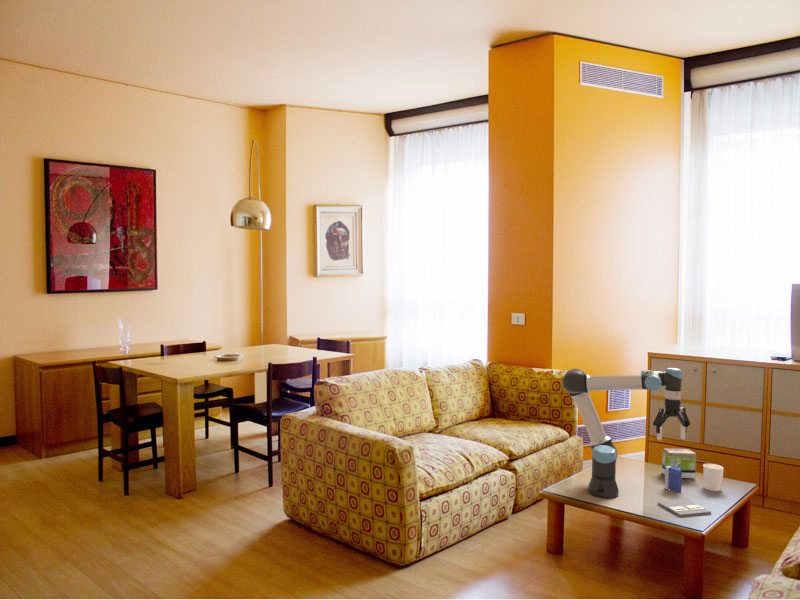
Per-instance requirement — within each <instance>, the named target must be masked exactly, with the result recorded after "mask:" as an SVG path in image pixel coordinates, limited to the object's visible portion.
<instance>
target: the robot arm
mask: <svg viewBox="0 0 800 600" xmlns="http://www.w3.org/2000/svg"><path fill="white" fill-rule="evenodd" d="M682 377H683V375H682V370H681V369H680V368H677V367H667V368H666V369H665V371H657V370H646V369H645V370H644V369H643V370H641V371H640V374H619V375H618V374H617V375H616V374H614V375H612V374H611V375H589V374H588V373H585V372H584V371H583V370H582V369H580V368H572V369H568V370H567V371H566V372H565V374H564V375H563V377H562V379H561V385H562V388H563V389H564V390H565V391H566V392H567V393H568V395H569V397H570V398H571V399H573V400H574V402H575V405H576V407H577V410H578V412H579V414H580V417H581V420H582V422H583V424H584V427H585V429H586V432H587V434H588V437H589V440H590V442H589V444H588V445H589V447H590V449H591V456H592V457H591V477H590V481H589V483H588V486H587V492H588V494H590V495H591V496H594V497H599V498H602V497H603V498H602V499H614V498H617V497H619V493H620V492H619V487H618V483H617V481H616V472H617V471H616V470H617V468H616V467H617V459H618V449H617V448H616V445H614V442H613V441H612V439H611V438H612V437H610V436H608V435H607V434H606V431H605V429H604V427H603V424H602V422H601V419H600V416H599V414H598V412H597V409H596V407H595V404H594V402H593V400H592V397H591V395H590V392H591V391H628V390H629V391H631V390H635V391H637V390H646V391H647V390H649V391H651V392H652V391H653V392H654V391H658V390H659V389H660V388H661V387H664V388H665V389H664V397H665V398H664V408H663V407H658V411H657V414H656V416H655V418H654V421H653V422H652V426H653V427H656V428H655V429H656V430H655V433H656V434H657V435H656V439H657V440H658V441H662V438H663V427H662V426H663V425H664V424H665V422H666V421H667V420H668V418H670V417H671V418H672V417H675V418H677V420H678V421H679V422H680V424H681V425H680V435H679V436H680V439H682V440H686V433H687V428H688V427H689V426H691V421H690V419H689V416H688V414H687V412H686V409H687V408H685V407H684V406H683V407H682V405H681V404H682V402H681V401H682V400H681V398H682V382H683V381H682V380H683V379H682Z"/></svg>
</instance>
